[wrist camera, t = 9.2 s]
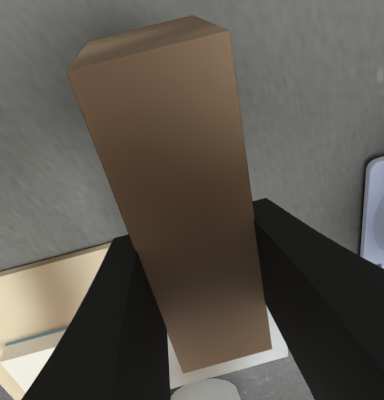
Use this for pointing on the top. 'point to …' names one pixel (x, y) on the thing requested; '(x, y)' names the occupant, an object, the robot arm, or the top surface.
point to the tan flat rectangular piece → (43, 299)
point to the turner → (182, 187)
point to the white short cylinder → (207, 391)
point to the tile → (29, 356)
